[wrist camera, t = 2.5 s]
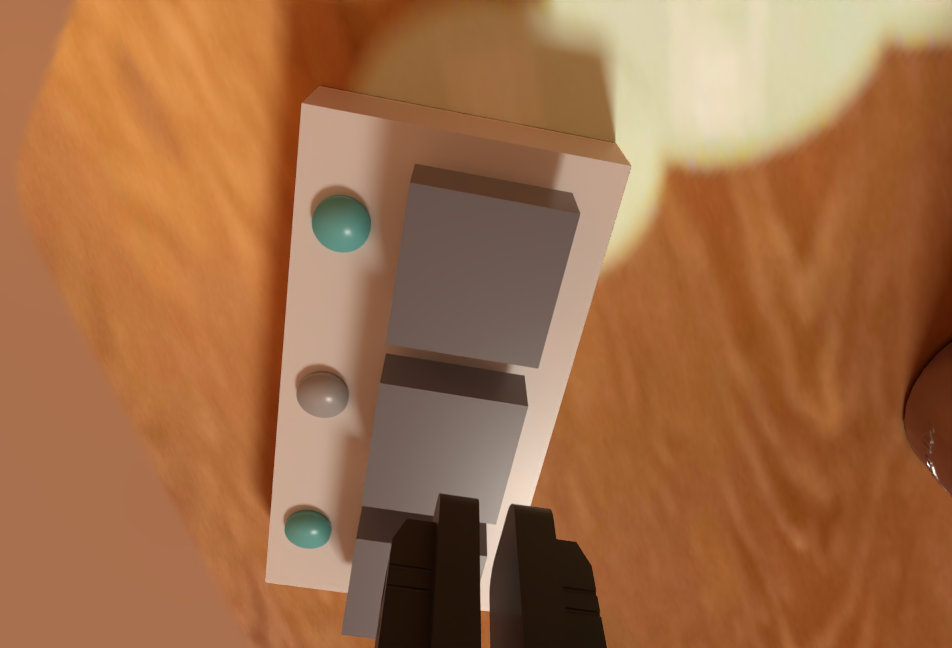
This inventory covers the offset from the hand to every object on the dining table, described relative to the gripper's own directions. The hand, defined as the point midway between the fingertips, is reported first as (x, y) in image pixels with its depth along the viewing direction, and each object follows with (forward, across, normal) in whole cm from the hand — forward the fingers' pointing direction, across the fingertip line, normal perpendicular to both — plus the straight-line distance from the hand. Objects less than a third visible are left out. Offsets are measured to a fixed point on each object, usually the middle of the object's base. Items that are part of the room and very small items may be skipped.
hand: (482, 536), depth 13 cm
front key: (+13, 0, 0) cm, 13 cm away
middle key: (+13, 0, +7) cm, 15 cm away
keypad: (+17, +1, +7) cm, 18 cm away
